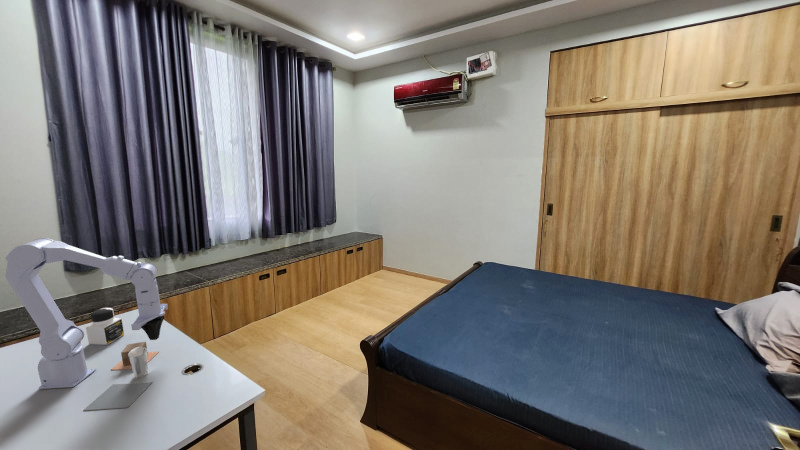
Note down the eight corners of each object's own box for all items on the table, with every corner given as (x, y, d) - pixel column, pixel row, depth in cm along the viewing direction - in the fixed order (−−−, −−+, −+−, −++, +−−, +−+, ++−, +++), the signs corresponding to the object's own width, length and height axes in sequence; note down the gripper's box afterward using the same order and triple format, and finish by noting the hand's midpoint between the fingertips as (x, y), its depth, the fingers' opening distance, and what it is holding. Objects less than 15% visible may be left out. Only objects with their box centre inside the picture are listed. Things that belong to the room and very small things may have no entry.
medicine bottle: (107, 345, 113) (102, 314, 111) (88, 344, 113) (82, 314, 111) (124, 334, 120) (119, 306, 118) (106, 334, 120) (101, 305, 118)
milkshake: (142, 381, 95) (137, 351, 93) (128, 378, 96) (123, 349, 94) (156, 371, 99) (152, 343, 97) (142, 369, 100) (138, 341, 98)
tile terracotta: (110, 370, 99) (110, 369, 99) (131, 353, 108) (131, 353, 108) (141, 368, 100) (141, 367, 100) (159, 352, 109) (159, 351, 109)
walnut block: (123, 366, 101) (121, 352, 100) (129, 357, 106) (127, 344, 105) (142, 362, 103) (140, 349, 102) (147, 354, 107) (145, 341, 107)
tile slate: (83, 410, 83) (83, 410, 83) (112, 385, 93) (112, 384, 93) (127, 407, 84) (127, 407, 84) (152, 382, 94) (152, 382, 94)
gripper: (146, 310, 94) (152, 350, 97) (175, 291, 108) (179, 327, 111) (121, 311, 93) (128, 352, 96) (153, 292, 107) (158, 328, 110)
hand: (154, 338), depth 103 cm, fingers closed
